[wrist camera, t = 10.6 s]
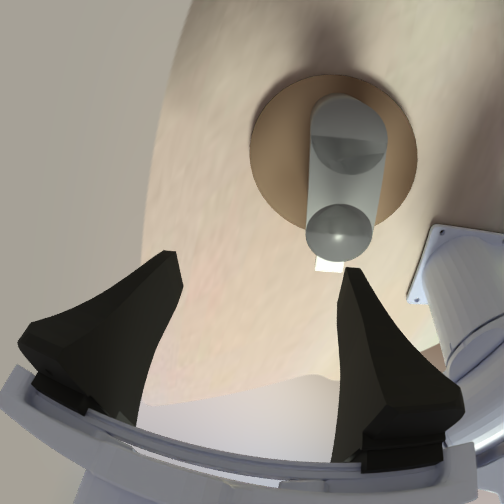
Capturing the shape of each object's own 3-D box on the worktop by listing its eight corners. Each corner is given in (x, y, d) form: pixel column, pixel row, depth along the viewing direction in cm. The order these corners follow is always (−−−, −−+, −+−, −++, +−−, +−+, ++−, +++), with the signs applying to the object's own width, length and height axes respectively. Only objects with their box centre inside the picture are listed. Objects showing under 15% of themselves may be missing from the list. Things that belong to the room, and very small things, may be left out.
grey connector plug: (310, 90, 15) (311, 96, 11) (369, 96, 14) (390, 106, 10) (303, 244, 21) (300, 291, 17) (350, 248, 20) (357, 295, 16)
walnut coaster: (421, 88, 13) (426, 89, 13) (397, 235, 20) (400, 241, 19) (248, 72, 15) (246, 72, 15) (254, 223, 22) (252, 229, 21)
